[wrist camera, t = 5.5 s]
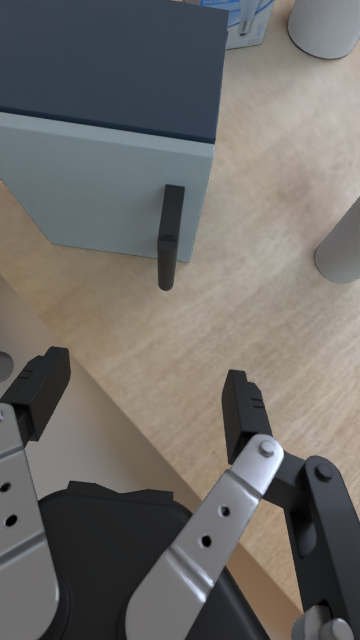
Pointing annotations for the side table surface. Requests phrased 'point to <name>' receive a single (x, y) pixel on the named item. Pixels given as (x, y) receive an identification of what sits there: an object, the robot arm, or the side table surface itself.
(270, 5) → the light bulb box
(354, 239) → the dixie cup
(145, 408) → the side table surface
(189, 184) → the door
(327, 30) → the toilet tissue
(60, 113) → the cabinet
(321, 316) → the side table surface
